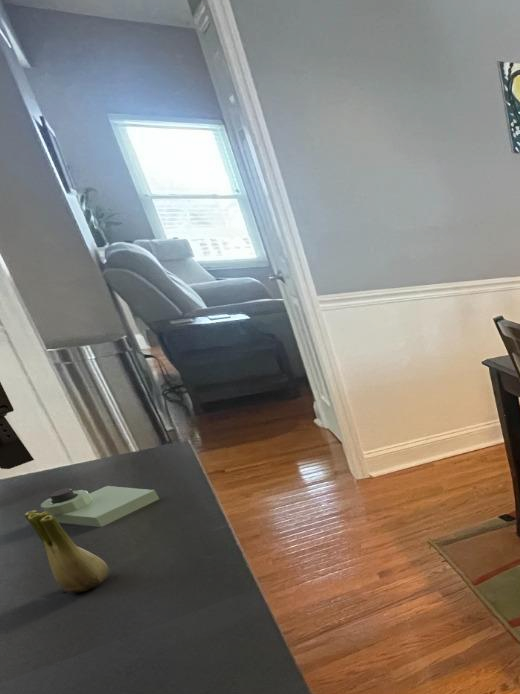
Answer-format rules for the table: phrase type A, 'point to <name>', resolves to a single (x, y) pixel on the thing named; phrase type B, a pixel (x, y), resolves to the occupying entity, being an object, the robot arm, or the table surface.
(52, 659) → the table surface
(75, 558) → the fennel bulb
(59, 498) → the scale button
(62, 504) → the scale
